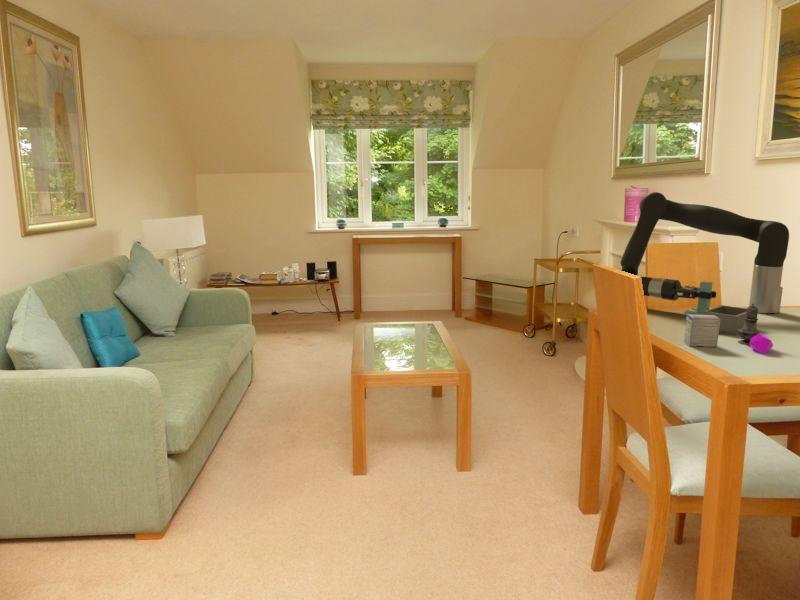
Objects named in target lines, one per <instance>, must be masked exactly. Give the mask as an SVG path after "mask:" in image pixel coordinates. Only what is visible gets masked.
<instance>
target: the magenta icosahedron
mask: <svg viewBox="0 0 800 600" xmlns="http://www.w3.org/2000/svg"><path fill="white" fill-rule="evenodd" d="M749 346H750V347H751V349H752V350H753V351H756V352H758V353H759V354H763V355H764V354H765V353H767V352H768V351H769V350H771V349H772V348H773V347H774V343H773V342H772V340H771V339H770V338H768V337H767V336H765V335H764V334H762V332H761V333H759V334H757V335H756V336H754V337H752V338H751V340H750V345H749Z"/></svg>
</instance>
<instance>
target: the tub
mask: <svg viewBox="0 0 800 600" xmlns="http://www.w3.org/2000/svg"><path fill="white" fill-rule="evenodd" d="M711 308H712V309H709V310H706V311H704V313H703V315H714V316H716V317H718V318H719V319H720V326H719V334H724V335H730V336H737V335H739V331H738V330H739V329H743V327H744V325H745V319H744V318H745V317H746V311H747V308H745V307H738V306H737V307H736V306H730V305H724V304H723V305H718V306H716V307H711Z"/></svg>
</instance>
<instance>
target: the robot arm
mask: <svg viewBox="0 0 800 600" xmlns="http://www.w3.org/2000/svg"><path fill="white" fill-rule="evenodd" d="M638 205H639V206H638V207H639V209H638V210H639V211H640V213H639V216H638V221H637V223H636V226H635V228H634V231H633V233H632V235H630V238H629V240H628V243H627V245H626V247H625V249H624V252H623V254H622V257H621V259H620V266H621V267H622V268H621V271H625V272H628V273H631V274H634V275H637V276H638V274H639V267H640V265H641V262H642V260H643V258H644V255H645V253H646V250H647V247H648V244H649V241H650V238H651V237H652V235H653V232H654V230H655V227H656V225H657V223H658V222H659V221H660V220H661V221H667V222H672V223H678V224H680V225H683V226H686V227H689V228H693V229H696V230H700V231H703V232H706V233H707V232H708V233H710V234H711V233H712V234H718V235H722V236H723V235H724V236H733V237H740V238H744V239H747V240H750V241H753V242H756V243H757V244H758V248H757V253H756V256H755V257H754V262H753V271H752V278H751V279H752V280H751V286H750V287H751V288H750V294H749V300H748V301H749V302H748V303H749V304H748V307H750V306H752V304H754V306H755V307H756V308H757V309H758V314H766V313H774V314H777V312H781V305H782V299H783V298H782V297H783V286H781V285H782V277H783V270H784V262H785V260H786V259H787V254H788V252H787V251H788V249H789V248H788V246H789V241H790V231H789V229H788V227H787V226H786V225H785V224H784V223H782V222H780V221H775V220H763V219H757V218H751V217H746V216H742V215H740V214H738V213H735V212H732V211H730V210H725V209H724V208H719V207H715V206H709V205H705V204H695V203H694V204H691V203H682V202H681V203H680V202H677V201H673V200H669V199H667V198H666V197H665V195H664V194H662V193H661V192H658V191H655V192H650V193H648V194H645V196H644V197H643V198H642V199H641V200H640V202H639V204H638ZM640 277H641V278H642V284H643V290H644V295H643V296H645V297H652V298H655V299H660V300H667V301H673V302H675V301H677V300H678V299H679V298H683V299H684V298H685V299H692V300H694V299H697V300H698V298H704V299H710V300H712V299H715V298H716V297H717V291H714V290H712V291H711V293H709V292H700V291H699V289H700V287H698V286H694V285H693V286H690V285H681V281H680V280H678V279H673V278H672V279H671V278H665V277H664V278H663V277H662V278H661V277H649V276H640Z"/></svg>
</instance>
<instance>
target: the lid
mask: <svg viewBox="0 0 800 600" xmlns="http://www.w3.org/2000/svg"><path fill="white" fill-rule="evenodd" d="M713 283H714V282H713V281H712V282H711V281H706V280H705V281H704V280H703V281H700V283H699V288H700V289H699V291H700V292H709V293H711V291H713ZM710 304H711V299H704V298H698V299H697V306H696V307H695V308H694V307H693V308H692V307H691V309H688V310H684V312H683V313H684V314H686V315H703V313H704V311H706V310H709V309H712V308H713V307H711V306H710Z"/></svg>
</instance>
